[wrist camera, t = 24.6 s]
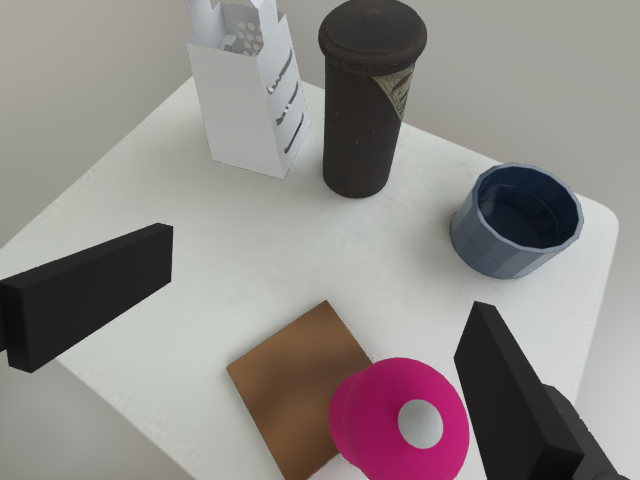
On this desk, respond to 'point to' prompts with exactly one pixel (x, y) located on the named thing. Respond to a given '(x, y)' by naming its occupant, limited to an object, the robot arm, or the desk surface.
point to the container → (366, 89)
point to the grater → (247, 85)
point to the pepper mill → (400, 422)
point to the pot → (515, 220)
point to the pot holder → (299, 388)
